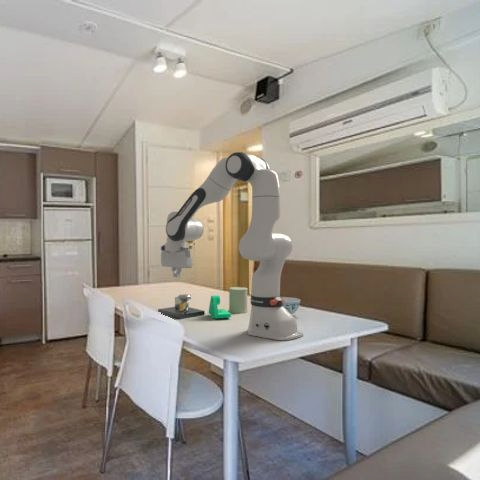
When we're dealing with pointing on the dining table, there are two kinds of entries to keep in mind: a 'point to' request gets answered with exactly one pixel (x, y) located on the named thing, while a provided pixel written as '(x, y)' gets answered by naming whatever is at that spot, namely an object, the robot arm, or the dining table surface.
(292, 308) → the chinaware
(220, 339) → the dining table surface
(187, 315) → the base
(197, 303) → the dining table surface
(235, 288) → the can
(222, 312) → the camera mount
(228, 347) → the dining table surface
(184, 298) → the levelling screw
